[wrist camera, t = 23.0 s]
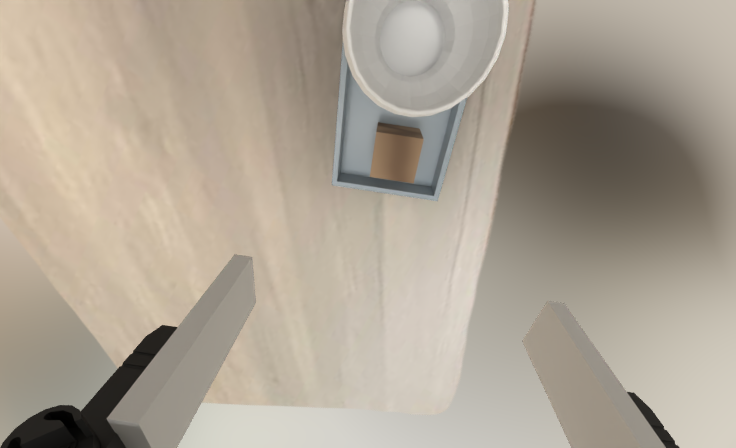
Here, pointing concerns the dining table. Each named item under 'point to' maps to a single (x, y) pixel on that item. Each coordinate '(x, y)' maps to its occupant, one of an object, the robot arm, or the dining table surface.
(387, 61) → the cup
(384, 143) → the walnut cube
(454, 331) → the dining table surface
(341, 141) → the tray
